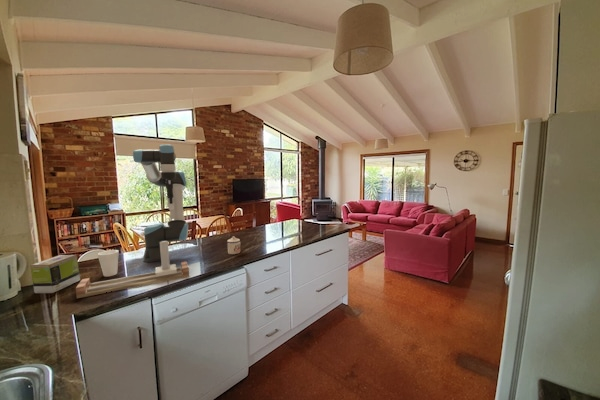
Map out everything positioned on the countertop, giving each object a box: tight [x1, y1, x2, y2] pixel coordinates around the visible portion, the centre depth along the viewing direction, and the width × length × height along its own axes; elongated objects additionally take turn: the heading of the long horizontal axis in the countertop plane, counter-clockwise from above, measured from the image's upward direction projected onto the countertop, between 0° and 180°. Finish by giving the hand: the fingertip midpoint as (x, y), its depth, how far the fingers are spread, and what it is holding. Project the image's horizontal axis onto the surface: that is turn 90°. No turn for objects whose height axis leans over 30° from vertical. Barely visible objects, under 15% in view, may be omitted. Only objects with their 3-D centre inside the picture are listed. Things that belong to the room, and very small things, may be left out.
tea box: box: [29, 254, 81, 294], centre depth 130 cm, size 15×10×15 cm, turn 178°
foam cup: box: [97, 249, 120, 278], centre depth 145 cm, size 10×9×13 cm
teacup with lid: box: [226, 236, 242, 255], centre depth 183 cm, size 12×9×12 cm
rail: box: [75, 261, 190, 299], centre depth 134 cm, size 12×48×5 cm, turn 119°
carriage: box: [154, 241, 177, 277], centre depth 139 cm, size 10×10×17 cm
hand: (170, 208), depth 150 cm, fingers open, 13 cm apart
